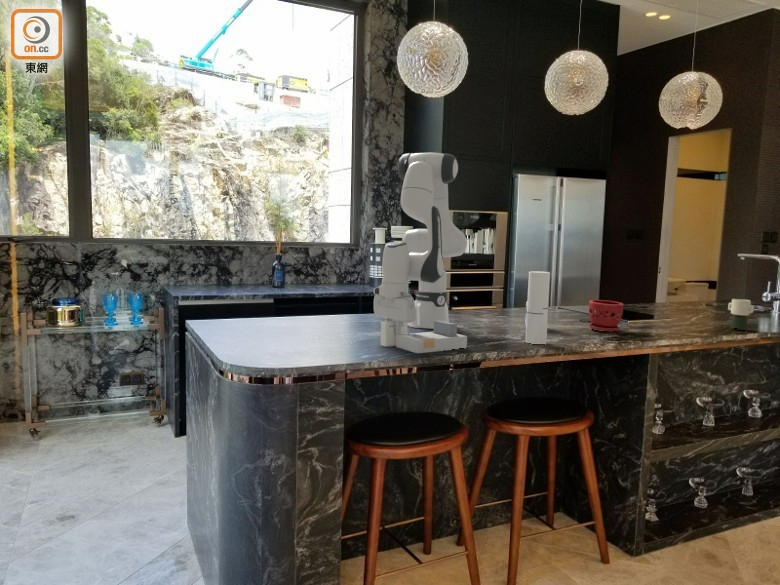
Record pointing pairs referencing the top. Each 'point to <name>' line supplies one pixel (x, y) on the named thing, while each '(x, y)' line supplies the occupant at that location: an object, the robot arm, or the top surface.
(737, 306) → the character mug
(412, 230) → the robot arm
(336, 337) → the top surface
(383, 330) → the panel
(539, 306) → the white tall box
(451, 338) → the rack
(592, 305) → the plant pot
